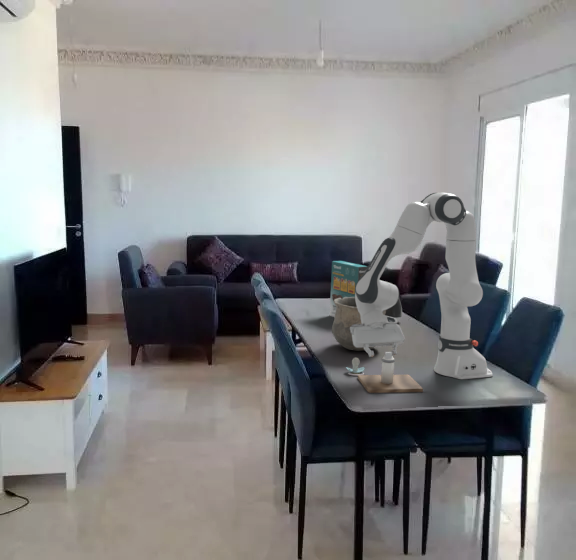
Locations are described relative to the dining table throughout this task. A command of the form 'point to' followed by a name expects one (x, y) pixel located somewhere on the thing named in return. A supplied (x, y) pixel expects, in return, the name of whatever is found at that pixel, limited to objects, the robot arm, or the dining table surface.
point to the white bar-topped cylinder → (387, 368)
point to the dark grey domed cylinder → (395, 311)
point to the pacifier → (356, 368)
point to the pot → (346, 322)
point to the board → (399, 384)
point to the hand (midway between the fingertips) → (383, 355)
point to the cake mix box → (344, 281)
